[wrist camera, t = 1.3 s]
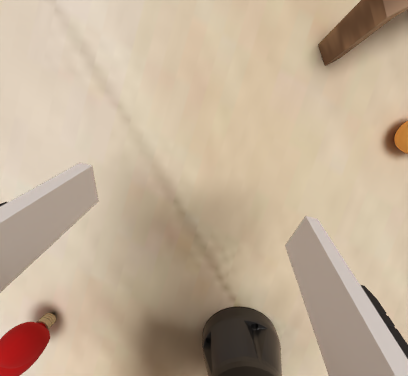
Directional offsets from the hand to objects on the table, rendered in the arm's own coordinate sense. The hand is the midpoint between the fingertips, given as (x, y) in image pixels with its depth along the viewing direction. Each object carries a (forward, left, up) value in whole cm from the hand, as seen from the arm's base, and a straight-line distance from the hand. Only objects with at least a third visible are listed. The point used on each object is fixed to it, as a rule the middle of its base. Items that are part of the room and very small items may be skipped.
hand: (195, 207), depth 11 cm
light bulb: (-14, +44, -19) cm, 50 cm away
